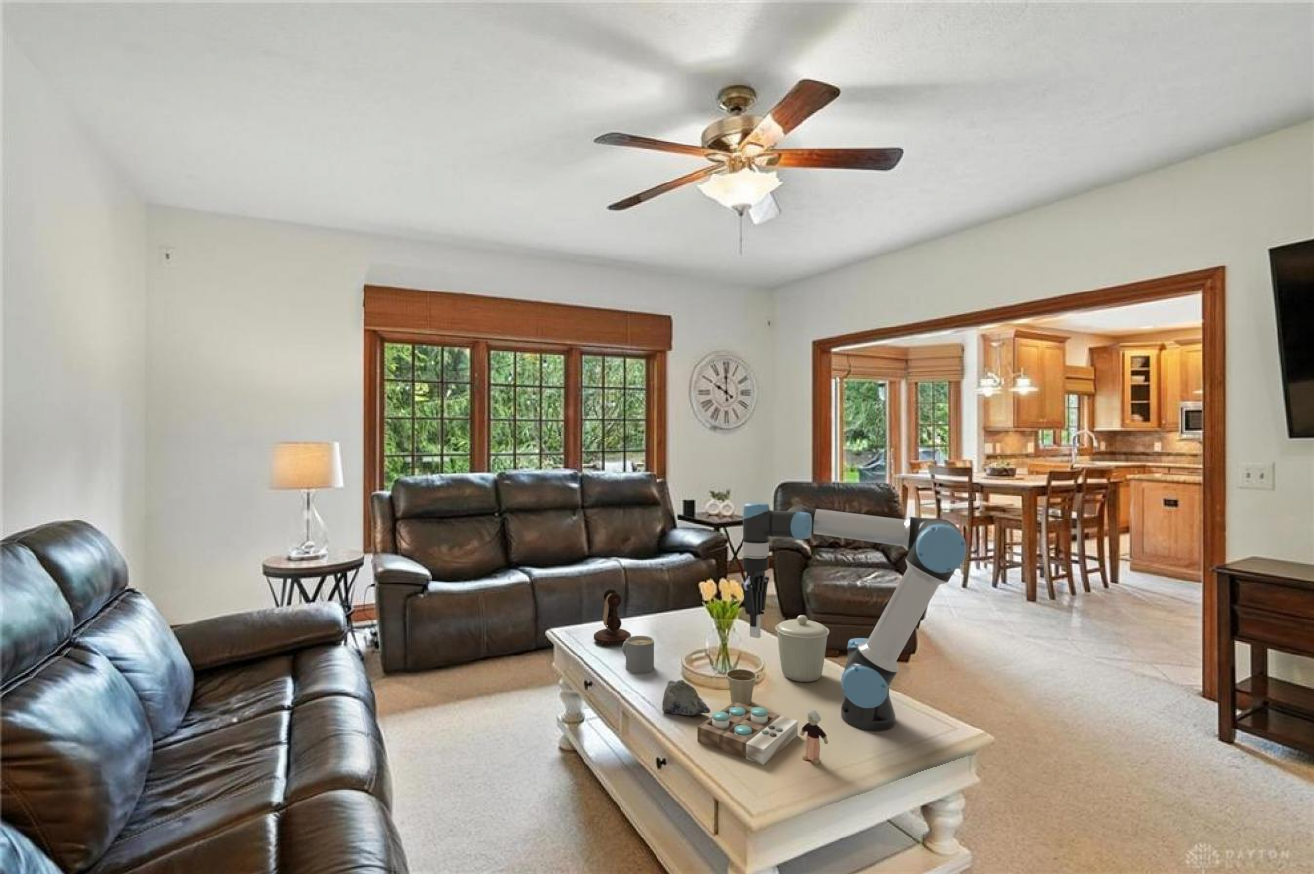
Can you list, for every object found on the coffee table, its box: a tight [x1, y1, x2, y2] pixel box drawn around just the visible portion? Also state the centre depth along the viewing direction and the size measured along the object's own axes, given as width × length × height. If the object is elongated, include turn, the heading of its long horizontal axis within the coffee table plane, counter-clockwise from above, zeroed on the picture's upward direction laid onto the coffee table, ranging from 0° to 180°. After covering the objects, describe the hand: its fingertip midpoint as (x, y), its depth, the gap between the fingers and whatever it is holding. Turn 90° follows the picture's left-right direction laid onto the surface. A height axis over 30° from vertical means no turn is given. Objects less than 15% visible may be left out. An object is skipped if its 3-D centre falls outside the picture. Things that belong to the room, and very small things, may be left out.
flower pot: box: [725, 668, 758, 706], centre depth 198 cm, size 9×9×9 cm
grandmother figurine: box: [799, 710, 829, 765], centre depth 163 cm, size 8×4×13 cm, turn 58°
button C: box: [729, 707, 745, 718], centre depth 182 cm, size 5×5×4 cm
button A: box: [751, 706, 769, 726], centre depth 177 cm, size 5×5×4 cm
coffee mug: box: [621, 635, 655, 675], centre depth 227 cm, size 13×10×10 cm
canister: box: [774, 614, 830, 683], centre depth 218 cm, size 18×18×21 cm
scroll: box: [593, 588, 632, 647], centre depth 254 cm, size 15×15×20 cm
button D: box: [711, 711, 729, 730], centre depth 175 cm, size 5×5×4 cm
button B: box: [734, 725, 752, 738], centre depth 170 cm, size 5×5×4 cm
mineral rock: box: [661, 679, 711, 717], centre depth 189 cm, size 13×11×10 cm
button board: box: [696, 702, 799, 766], centre depth 175 cm, size 20×20×4 cm
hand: (755, 636), depth 185 cm, fingers closed
